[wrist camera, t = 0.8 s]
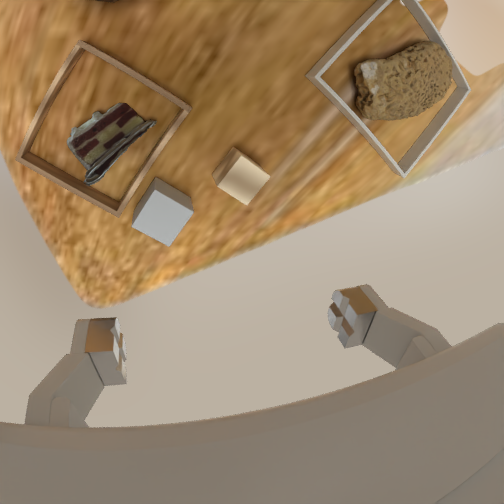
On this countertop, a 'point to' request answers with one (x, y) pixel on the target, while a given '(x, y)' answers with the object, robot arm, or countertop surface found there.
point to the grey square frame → (314, 77)
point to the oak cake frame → (68, 180)
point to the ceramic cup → (108, 0)
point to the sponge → (403, 82)
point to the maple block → (240, 176)
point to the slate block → (162, 212)
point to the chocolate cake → (106, 139)
